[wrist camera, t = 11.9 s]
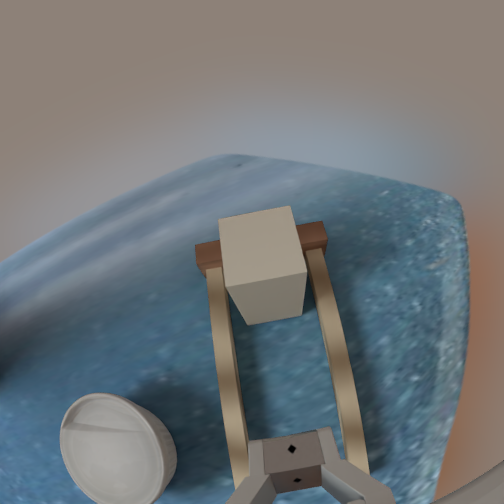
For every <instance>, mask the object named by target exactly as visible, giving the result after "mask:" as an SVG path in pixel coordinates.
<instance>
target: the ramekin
mask: <svg viewBox="0 0 504 504" xmlns="http://www.w3.org/2000/svg"><path fill="white" fill-rule="evenodd" d="M60 448H61V453H62V457H63V460H64V463H65V465H66V468H67V470H68V472H69V474H70V475H71V477H72V479H73V480H74V482H75V483H76V484H77V486H78V487H79V488H80V489H81V490H82V491H83V492H84V493H85V494H86V495H87V496H88V497H90V498H91V499H92V500H94V501H95V502H96V503H98V504H153V503H154V502H155V501H156V500H157V499H158V498H159V497H160V496H161V495H162V493H163V492H164V490H165V488H166V486H167V485H168V484H169V482H170V480H171V479H172V478H173V475H174V473H175V470H176V464H177V453H176V447H175V444H174V441H173V439H172V437H171V434H170V433H169V431H168V429H167V428H166V427H165V425H164V424H163V423H162V422H161V421H160V419H158V418H157V417H156V416H155V415H154V414H152V413H151V412H150V411H149V410H146V409H145V408H143V407H141V406H138V405H136V404H135V403H133V402H132V401H130V400H128V399H126V398H124V397H122V396H119V395H115V394H111V393H92V394H88V395H85V396H83V397H81V398H79V399H78V400H77V401H75V402H74V403H73V404H72V405H71V406H70V408H69V409H68V410H67V412H66V414H65V416H64V418H63V421H62V424H61V429H60Z"/></svg>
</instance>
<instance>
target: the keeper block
mask: <svg viewBox="0 0 504 504" xmlns="http://www.w3.org/2000/svg"><path fill="white" fill-rule="evenodd" d="M218 224H219V234H220V243H221V252H222V261H223V269H224V278H225V286H226V289H227V290H228V292H229V294H230V296H231V297H232V299H233V301H234V303H235V304H236V306H237V308H238V310H239V311H240V313H241V315H242V317H243V318H244V320H245V322H246V323H247V325H253V324H259V323H265V322H270V321H275V320H281V319H286V318H291V317H296V316H301V315H302V310H303V302H304V294H305V286H306V278H307V269H306V264H305V260H304V257H303V253H302V249H301V245H300V241H299V237H298V233H297V229H296V226H295V222H294V218H293V214H292V211H291V207H290V206H284V207H279V208H273V209H268V210H262V211H257V212H252V213H247V214H242V215H236V216H231V217H226V218H221V219H218Z"/></svg>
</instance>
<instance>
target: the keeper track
mask: <svg viewBox="0 0 504 504" xmlns="http://www.w3.org/2000/svg"><path fill="white" fill-rule="evenodd" d="M296 229H297V233H298V237H299V241H300V245H301V249H302V253H303V257H304V260H305V262H306V266H307V271H308V275H309V279H310V283H311V287H312V291H313V295H314V300H315V304H316V308H317V313H318V317H319V321H320V326H321V330H322V335H323V340H324V344H325V349H326V354H327V358H328V363H329V368H330V373H331V378H332V383H333V389H334V394H335V399H336V404H337V410H338V415H339V421H340V427H341V433H342V439H343V445H344V451H345V457H346V460H347V461H348V462H350V463H351V464H353V465H354V466H356V467H357V468H359V469H360V470H362V471H363V472H365V473H366V474H368V475H370V473H369V466H368V459H367V452H366V445H365V439H364V433H363V427H362V421H361V415H360V410H359V405H358V399H357V394H356V389H355V384H354V379H353V374H352V369H351V365H350V360H349V355H348V351H347V346H346V342H345V338H344V333H343V329H342V325H341V321H340V317H339V313H338V309H337V305H336V301H335V297H334V293H333V289H332V285H331V282H330V278H329V274H328V271H327V267H326V263H325V260H324V255H325V251H326V246H327V241H328V238H327V235H326V232H325V228H324V225H323V222H322V221H318V222H313V223H307V224H302V225H296ZM195 252H196V264H197V266H198V267H199V269H200V270H201V272H202V273H203V275H204V276H205V278H206V279H207V288H208V298H209V308H210V317H211V327H212V336H213V344H214V353H215V361H216V369H217V376H218V384H219V391H220V398H221V405H222V412H223V419H224V425H225V432H226V438H227V444H228V450H229V456H230V462H231V468H232V473H233V479H234V484H235V490H236V489H237V487H238V486H239V485H240V483H241V482H242V481H243V479H244V478H245V477H248V476H249V453H248V443H249V437H248V431H247V425H246V419H245V412H244V406H243V399H242V393H241V386H240V379H239V373H238V366H237V359H236V352H235V344H234V337H233V330H232V322H231V315H230V307H229V299H228V291H227V289H226V286H225V278H224V269H223V261H222V252H221V243H220V240H217V241H212V242H207V243H202V244H197V245H195Z"/></svg>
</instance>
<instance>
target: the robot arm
mask: <svg viewBox="0 0 504 504" xmlns="http://www.w3.org/2000/svg"><path fill="white" fill-rule="evenodd" d="M248 453H249V476H248V477H245V478H244V479H243V481H242V482H241V483H240V485H239V486H238V487H237V489H236V490H235V491H234V493H233V494H232V495H231V497H230V498H229V499H228V500H227V502H226V503H225V504H272V503H273V501H274V499H275V498H276V496H277V494H279V493H285V492H291V491H296V490H302V489H307V488H313V487H318V486H322V487H323V488H324V489H325V490H326V491H327V492H329V493H330V494H331V495H332V496H333V497H334V498H336V499H337V500H338V501H339V502H340V503H341V504H396V502H395V500H394V497H393V494H392V492H391V489H390V488H389V487H387V486H385V485H384V484H382V483H381V482H379V481H377V480H376V479H374V478H373V477H371V476H370V475H368V474H366V473H365V472H363V471H362V470H360V469H359V468H357V467H356V466H354V465H353V464H351V463H350V462H348V461H347V460H346V459H343V460H341V458H340V455H339V452H338V449H337V445H336V442H335V439H334V436H333V432H332V429H331V427H330V426H328V427H325V428H321V429H317V430H316V429H314V430H310V431H306V432H301V433H296V434H291V435H288V436H282V437H275V438H268V439H259V440H252V441H249V443H248ZM430 504H504V460H503V461H502V462H501V463H499V464H498V465H496V466H495V467H493V468H492V469H490V470H489V471H487V472H486V473H484V474H483V475H481V476H480V477H478V478H476V479H475V480H473V481H471V482H470V483H468V484H466V485H465V486H463V487H461V488H459V489H458V490H456V491H454V492H452V493H450V494H448V495H447V496H444V497H442V498H440V499H438V500H436V501H434V502H432V503H430Z"/></svg>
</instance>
